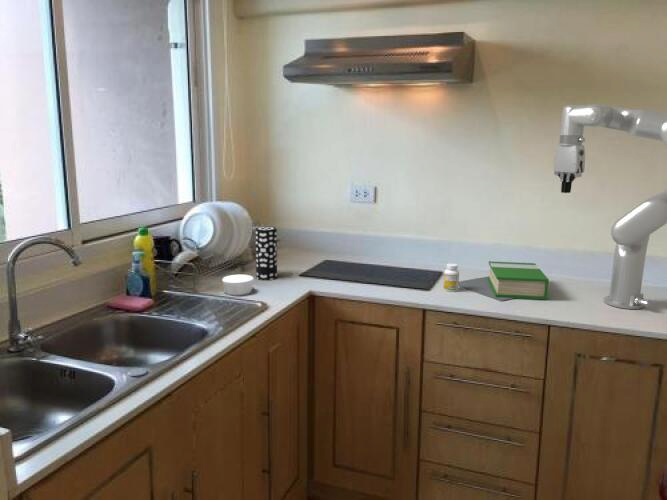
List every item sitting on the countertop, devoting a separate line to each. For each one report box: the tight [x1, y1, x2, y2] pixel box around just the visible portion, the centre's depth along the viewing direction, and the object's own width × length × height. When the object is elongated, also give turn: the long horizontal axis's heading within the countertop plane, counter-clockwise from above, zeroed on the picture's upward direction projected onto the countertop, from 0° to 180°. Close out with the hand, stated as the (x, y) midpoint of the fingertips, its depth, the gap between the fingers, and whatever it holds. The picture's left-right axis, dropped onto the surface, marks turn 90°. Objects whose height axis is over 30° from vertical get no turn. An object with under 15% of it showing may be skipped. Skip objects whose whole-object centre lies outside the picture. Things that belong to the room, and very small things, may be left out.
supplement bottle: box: [443, 263, 460, 292], centre depth 212 cm, size 5×5×10 cm
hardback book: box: [487, 260, 550, 300], centre depth 214 cm, size 18×7×24 cm
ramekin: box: [221, 273, 255, 296], centre depth 207 cm, size 11×11×5 cm
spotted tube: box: [254, 226, 278, 281], centre depth 225 cm, size 8×8×20 cm
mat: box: [458, 275, 517, 302], centre depth 217 cm, size 26×24×1 cm
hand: (565, 192), depth 205 cm, fingers closed
